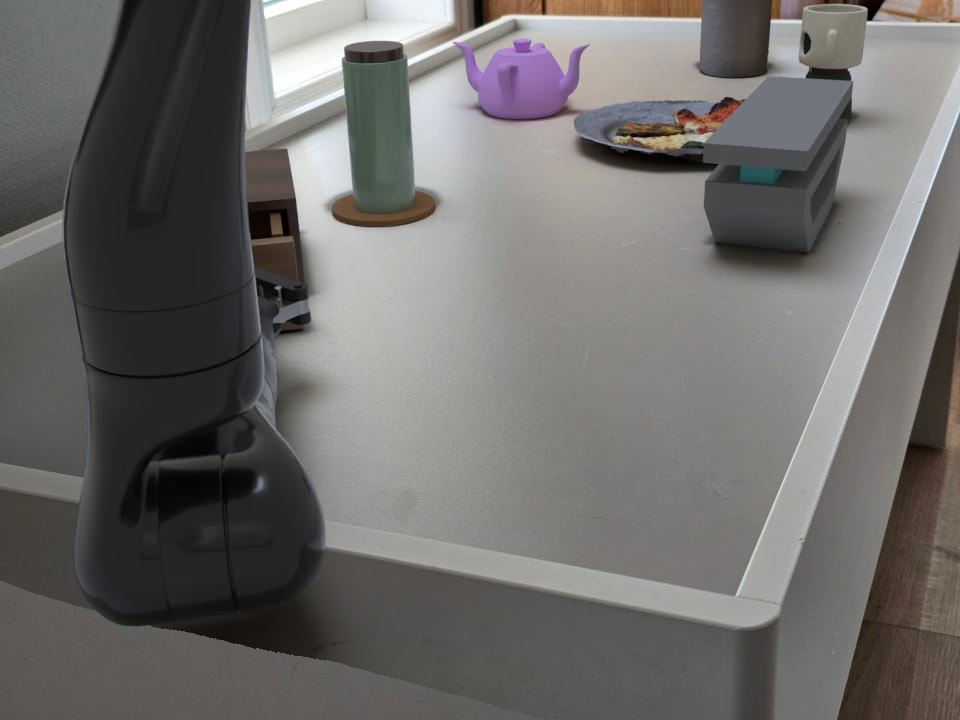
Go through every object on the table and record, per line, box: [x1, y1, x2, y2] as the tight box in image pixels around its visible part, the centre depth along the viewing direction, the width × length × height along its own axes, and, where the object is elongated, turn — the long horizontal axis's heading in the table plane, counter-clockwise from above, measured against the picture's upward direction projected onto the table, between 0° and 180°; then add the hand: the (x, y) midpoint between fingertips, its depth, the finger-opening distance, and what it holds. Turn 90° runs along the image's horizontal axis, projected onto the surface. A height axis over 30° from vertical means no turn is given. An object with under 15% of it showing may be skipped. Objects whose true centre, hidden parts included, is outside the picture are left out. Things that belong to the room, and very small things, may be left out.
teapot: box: [452, 38, 591, 120], centre depth 142 cm, size 12×14×9 cm
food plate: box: [573, 96, 747, 157], centre depth 127 cm, size 25×23×4 cm
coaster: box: [331, 190, 436, 228], centre depth 109 cm, size 10×10×1 cm
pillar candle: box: [698, 0, 773, 78], centre depth 158 cm, size 10×10×15 cm
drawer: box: [248, 209, 304, 332], centre depth 84 cm, size 18×11×7 cm, turn 11°
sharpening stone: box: [702, 75, 854, 254], centre depth 98 cm, size 25×8×11 cm, turn 156°
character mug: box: [798, 3, 869, 120], centre depth 131 cm, size 11×7×13 cm, turn 163°
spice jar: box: [341, 40, 416, 214], centre depth 106 cm, size 6×6×15 cm
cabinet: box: [245, 148, 306, 284], centre depth 93 cm, size 15×13×9 cm
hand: (213, 264), depth 79 cm, fingers closed
